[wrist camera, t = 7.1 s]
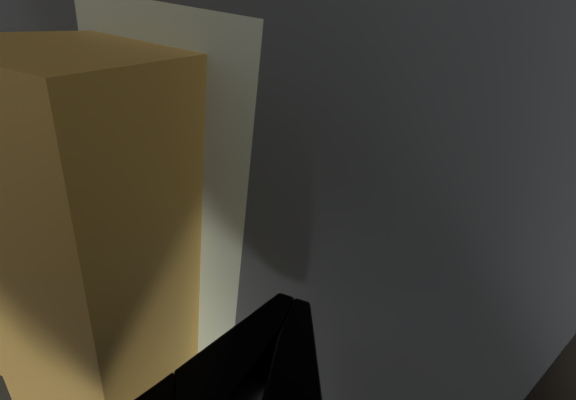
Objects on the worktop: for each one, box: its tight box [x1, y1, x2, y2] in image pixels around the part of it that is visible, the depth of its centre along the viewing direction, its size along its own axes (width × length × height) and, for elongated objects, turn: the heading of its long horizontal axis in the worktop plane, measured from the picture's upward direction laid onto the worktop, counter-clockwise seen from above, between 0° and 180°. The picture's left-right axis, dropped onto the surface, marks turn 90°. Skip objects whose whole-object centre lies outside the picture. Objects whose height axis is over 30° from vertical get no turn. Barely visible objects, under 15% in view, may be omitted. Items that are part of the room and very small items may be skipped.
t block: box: [0, 30, 207, 400], centre depth 9 cm, size 9×11×4 cm
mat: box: [0, 0, 576, 400], centre depth 10 cm, size 20×16×1 cm
